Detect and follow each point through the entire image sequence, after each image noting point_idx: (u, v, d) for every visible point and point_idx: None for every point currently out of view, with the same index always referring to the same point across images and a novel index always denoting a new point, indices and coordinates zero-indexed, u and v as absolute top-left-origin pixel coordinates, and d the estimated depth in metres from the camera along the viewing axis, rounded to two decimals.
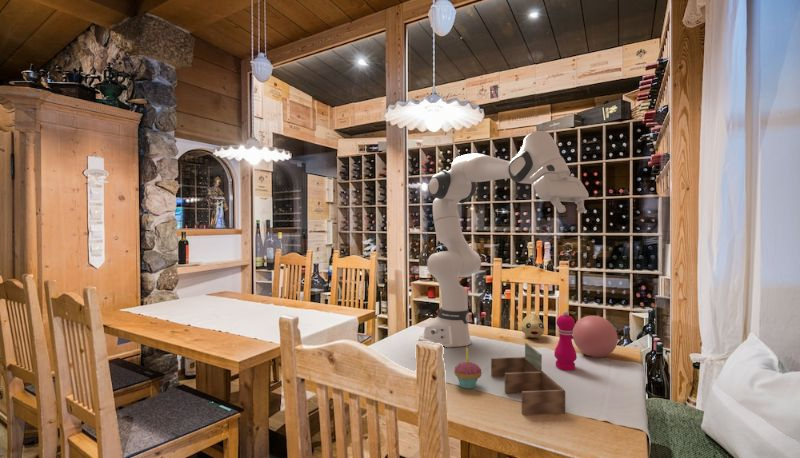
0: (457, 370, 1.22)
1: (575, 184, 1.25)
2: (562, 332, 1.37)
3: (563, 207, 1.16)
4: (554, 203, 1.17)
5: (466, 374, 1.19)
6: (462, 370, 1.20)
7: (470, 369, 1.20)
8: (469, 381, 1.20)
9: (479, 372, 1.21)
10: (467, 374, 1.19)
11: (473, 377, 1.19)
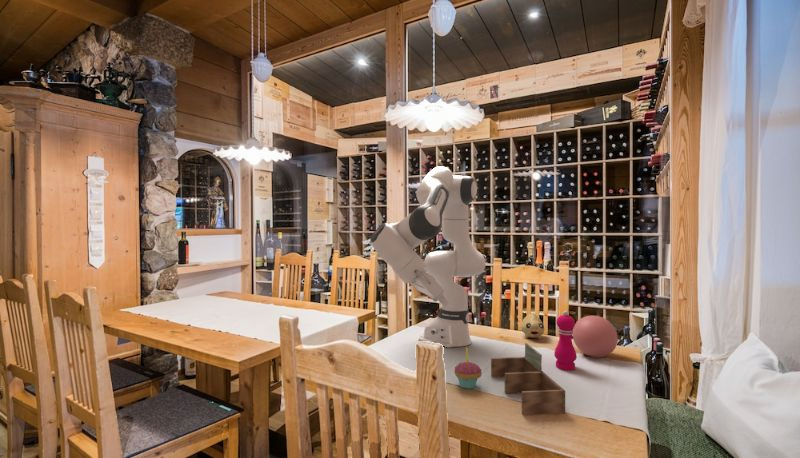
0: (457, 370, 1.22)
1: (422, 286, 1.14)
2: (562, 332, 1.37)
3: (432, 299, 1.25)
4: None
5: (466, 374, 1.19)
6: (462, 370, 1.20)
7: (470, 369, 1.20)
8: (469, 381, 1.20)
9: (479, 372, 1.21)
10: (467, 374, 1.19)
11: (473, 377, 1.19)
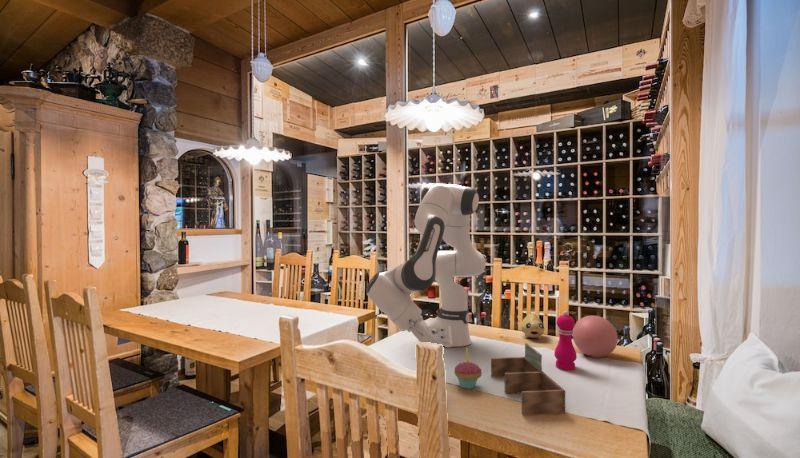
0: (457, 370, 1.22)
1: None
2: (562, 332, 1.37)
3: None
4: None
5: (466, 374, 1.19)
6: (462, 370, 1.20)
7: (470, 369, 1.20)
8: (469, 381, 1.20)
9: (479, 372, 1.21)
10: (467, 374, 1.19)
11: (473, 377, 1.19)
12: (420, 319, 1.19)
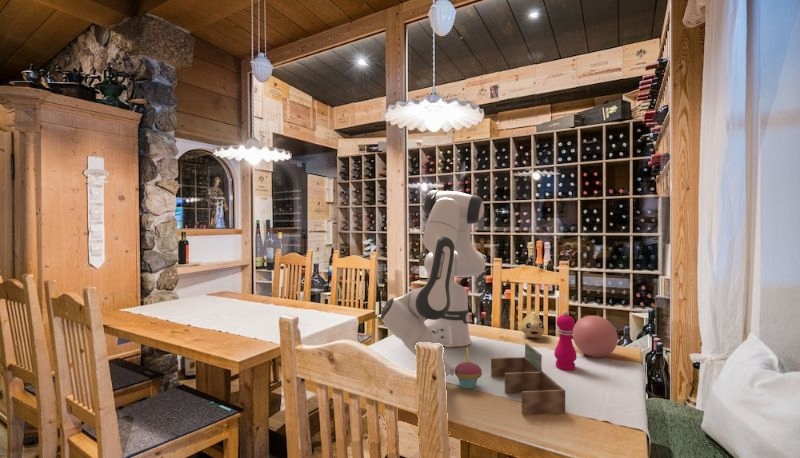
0: (457, 370, 1.22)
1: None
2: (562, 332, 1.37)
3: None
4: None
5: (466, 374, 1.19)
6: (463, 370, 1.20)
7: (471, 369, 1.20)
8: (470, 381, 1.20)
9: (479, 372, 1.21)
10: (467, 374, 1.19)
11: (473, 377, 1.19)
12: None
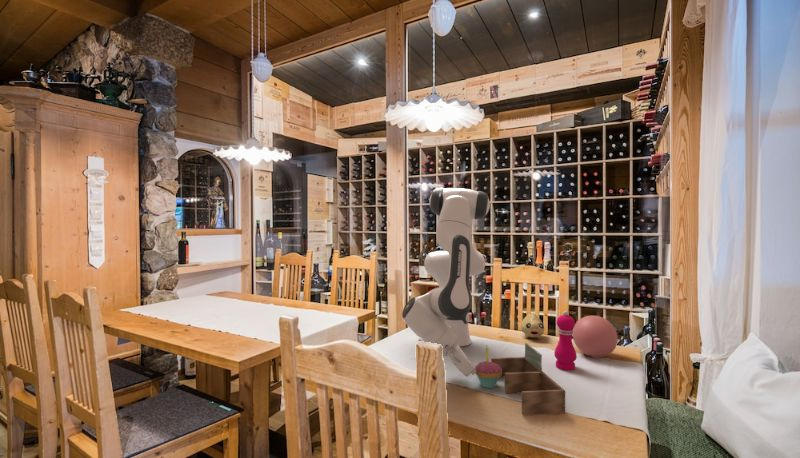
0: (478, 370, 1.22)
1: None
2: (562, 332, 1.37)
3: None
4: None
5: (487, 373, 1.20)
6: (484, 370, 1.21)
7: (492, 368, 1.21)
8: (491, 381, 1.21)
9: (500, 371, 1.21)
10: (489, 373, 1.20)
11: (495, 376, 1.20)
12: (456, 344, 1.21)
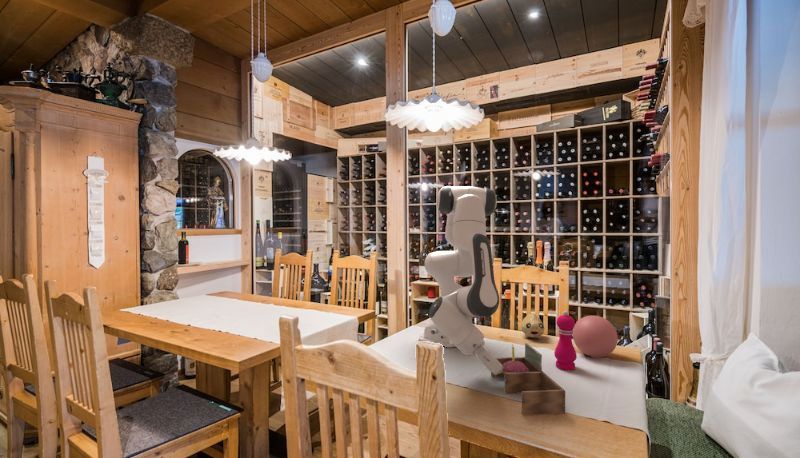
0: (504, 369, 1.23)
1: None
2: (562, 332, 1.37)
3: None
4: None
5: (514, 372, 1.21)
6: (511, 369, 1.22)
7: (519, 367, 1.21)
8: None
9: (527, 370, 1.22)
10: None
11: None
12: (483, 343, 1.21)
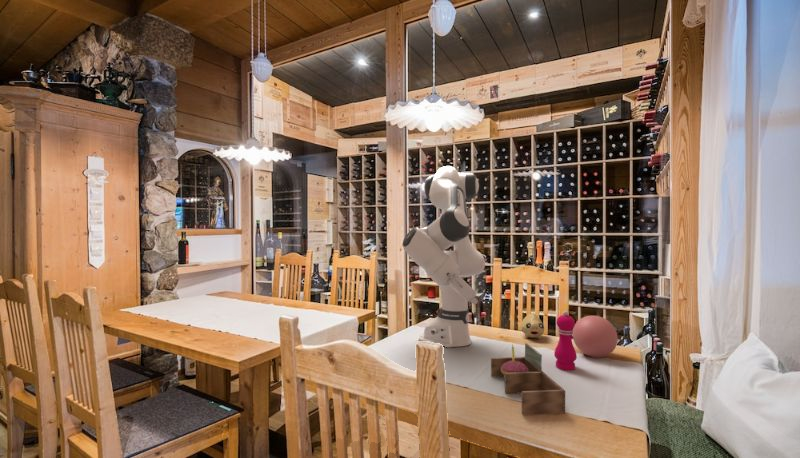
0: (504, 369, 1.23)
1: None
2: (562, 332, 1.37)
3: (470, 301, 1.24)
4: None
5: (514, 372, 1.21)
6: (511, 369, 1.22)
7: (519, 367, 1.21)
8: None
9: (527, 370, 1.22)
10: None
11: None
12: (457, 273, 1.20)
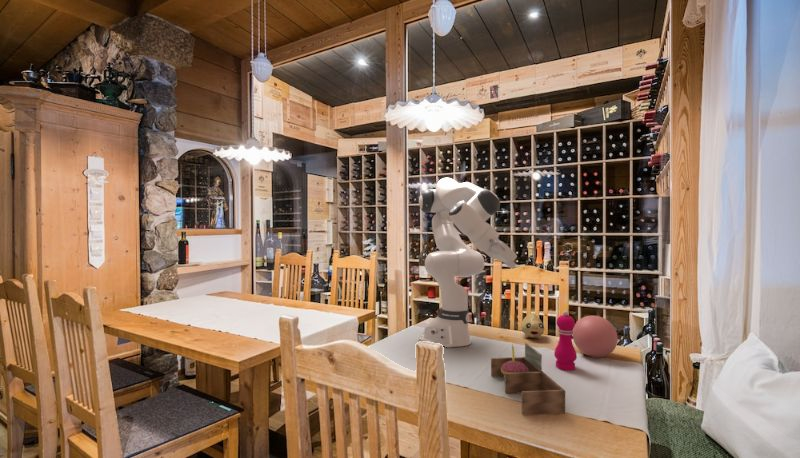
0: (504, 369, 1.23)
1: (497, 252, 1.33)
2: (562, 332, 1.37)
3: (508, 266, 1.40)
4: None
5: (514, 372, 1.21)
6: (511, 369, 1.22)
7: (519, 367, 1.21)
8: None
9: (527, 370, 1.22)
10: None
11: None
12: (498, 240, 1.37)
